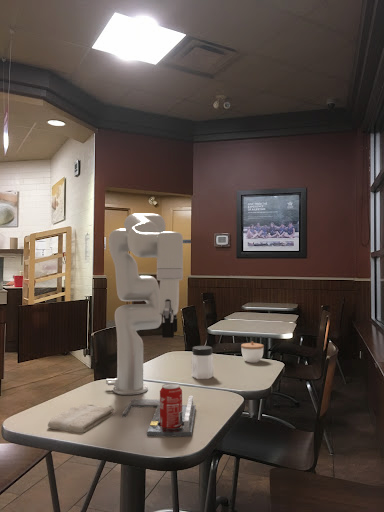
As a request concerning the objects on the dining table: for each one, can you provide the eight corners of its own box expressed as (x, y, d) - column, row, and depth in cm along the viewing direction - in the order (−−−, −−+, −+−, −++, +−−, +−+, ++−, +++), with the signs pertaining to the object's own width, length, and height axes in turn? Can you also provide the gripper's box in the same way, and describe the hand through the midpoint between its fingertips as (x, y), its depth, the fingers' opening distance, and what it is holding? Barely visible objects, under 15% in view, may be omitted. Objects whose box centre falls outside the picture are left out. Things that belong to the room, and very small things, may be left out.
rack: (147, 435, 119) (147, 420, 119) (158, 408, 141) (158, 395, 141) (191, 436, 118) (191, 420, 118) (195, 408, 141) (195, 395, 141)
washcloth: (115, 414, 137) (115, 404, 137) (83, 435, 120) (83, 424, 120) (82, 410, 141) (82, 401, 141) (46, 430, 124) (46, 419, 124)
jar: (188, 375, 183) (188, 346, 184) (204, 373, 187) (204, 344, 188) (199, 380, 176) (199, 350, 176) (216, 377, 180) (216, 348, 180)
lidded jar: (238, 359, 215) (238, 340, 215) (259, 358, 216) (259, 339, 217) (245, 364, 204) (244, 343, 204) (267, 363, 206) (266, 343, 206)
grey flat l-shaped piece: (122, 416, 134) (122, 414, 134) (132, 401, 149) (132, 398, 149) (161, 417, 133) (161, 414, 133) (167, 401, 149) (167, 399, 149)
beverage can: (170, 422, 129) (170, 381, 129) (186, 427, 125) (186, 385, 125) (155, 428, 124) (155, 386, 124) (172, 434, 120) (171, 390, 120)
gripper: (160, 274, 135) (161, 329, 135) (152, 275, 118) (152, 339, 118) (185, 274, 135) (185, 329, 134) (180, 275, 117) (180, 340, 117)
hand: (170, 334), depth 126 cm, fingers open, 9 cm apart
